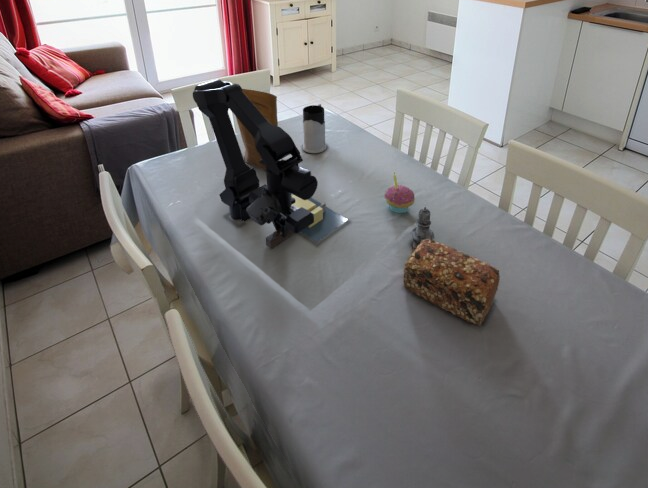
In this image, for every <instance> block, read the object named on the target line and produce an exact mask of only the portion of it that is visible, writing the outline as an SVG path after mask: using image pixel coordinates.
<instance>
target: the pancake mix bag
mask: <svg viewBox="0 0 648 488" xmlns="http://www.w3.org/2000/svg"><path fill="white" fill-rule="evenodd" d="M242 90H243V93H244V94H245V95H246V96H247V98H248V99H249V100H250V101H251V102H252V103H253V104H254V106H255V107H256V108H257V109H258V110H259V111H260V112H261V114H262V115H263V116H264V117H265V118H266V119H267V121H268V122H270V123H271V124H273V125H275V126H278V127H279V121H278V103H277V101H278V96H276V95H275V94H273V93H269V92H265V91H260V90H254V89H247V88H242ZM235 119H236V123H237V126H238V129H239V132H240V137H241V140H242V143H243V146H244V150H245V151H244V162H245V163H246V164H249V165H251V166H253V167H256V168H259V169H262V170H264V171H266V166H265V165H263V164H261V163H260V162H259V161H260V160H261V159H262V158H261V156H260V154H259V153H258V151H257V150H256V148H255V140H254V138H253V136H252V135H251V134H250V132H249V131H248V130H247V129H246V128H245V126H244V125H243V124H242V123H241V122H240V121H239V119H238V118H237V117H236V116H235Z"/></svg>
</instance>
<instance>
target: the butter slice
mask: <svg viewBox="0 0 648 488" xmlns="http://www.w3.org/2000/svg"><path fill="white" fill-rule="evenodd" d="M311 213H313V214H314V223H312V224H311V225H309V226H308V227H309V228H310V227H312V226H313V225H315V224H316V223H318V222H319V221H321V220H322V219H323V208H321V207H317V208H316V209H314V210H313V211H311Z"/></svg>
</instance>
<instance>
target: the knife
mask: <svg viewBox="0 0 648 488" xmlns="http://www.w3.org/2000/svg"><path fill="white" fill-rule="evenodd" d="M321 204H322V205H320V206H319V207H321V208H323V212H324V211H326V207H327V203H326V202H323V203H321ZM315 209H316V208H315ZM312 211H313V210H312ZM295 234H296V233H294V232H292V231H291V230H290V231H289V233H288V235H287V236H286V237H283V235H282V230H281V228H280V229H278V230H277V231H276V230H275V231H273V232H271V233H270V234H269V235H267V236H265V246H266V247H267V248H269V249H270V250H272V249H274V248H275V247H276V246H278V245H279V244H281V243H282V242H284V241H286V240H287V239H289V238H290V237H291V236H293V235H295Z"/></svg>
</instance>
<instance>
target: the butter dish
mask: <svg viewBox="0 0 648 488" xmlns="http://www.w3.org/2000/svg"><path fill="white" fill-rule="evenodd" d="M308 200H309V201H311V202H312V203H314V204H316V208H317V207H319V206H320V205H322V204H323V203H321V202H319V201H318V200H316V199H314V198H312V197H311V198H310V199H308ZM348 220H349V219H348V218H346V217H345V216H343V215H341V214H340V213H338V212H337V211H334V210H333V209H331V208H330V207H327V206H326V211H324V212H323V219H322V220H321V221H319V222H318V223H316V224H315V225H313V226H312V227H310V228H309V227H306V228H305V229H303V230H302V231H300V233H302V234H303V235H305V236H307V237H308V238H309V239H311V240H312V241H313V242H316V243H318V242H319V241H321V240H323V238H325V237H327V236H328V235H329V234H331V233H332V232H333V231H335V230H336V229H338V228H339V227H341V226H342V225H343V224H345V223H346V222H347V221H348Z"/></svg>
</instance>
